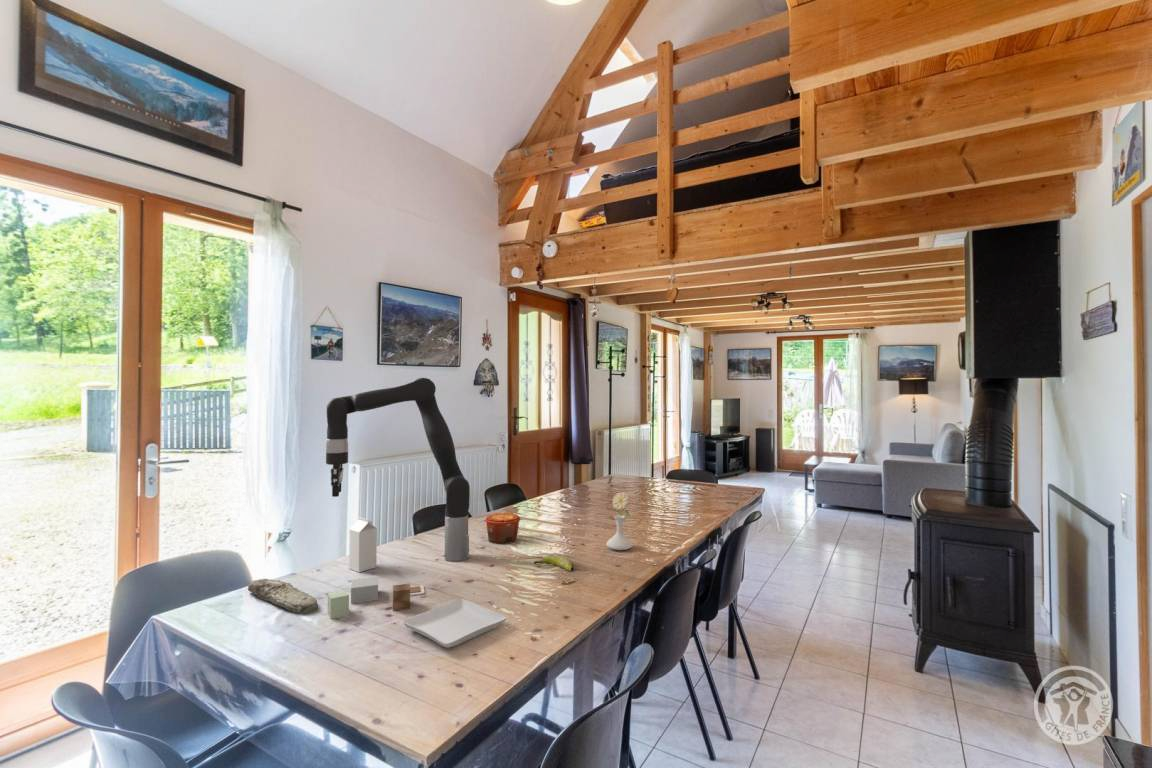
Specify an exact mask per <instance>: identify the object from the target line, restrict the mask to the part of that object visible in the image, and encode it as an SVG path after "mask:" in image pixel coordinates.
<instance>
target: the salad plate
mask: <svg viewBox="0 0 1152 768" xmlns="http://www.w3.org/2000/svg"><path fill="white" fill-rule="evenodd" d="M506 620H507V617H506V615H504V614H501V613H499V612H496V611H494V610H492V609H489V608H487V607H485V606H482V605H479V604H477V603H475V602H472V601H470V600H467V599H464V598H461V599H457V600H454V601H451V602H449V603H446V604H443V605H440V606H438V607H437V606H436V607H434V608H432V609H430V610H427V611H424V612H421V613H419V614H417V615H413V616H411V617H408V618H405V620H403V621H402V622H403V625H404V626H406V627H407V628H408V629H410V630H412V631H414V632H416V633H418V634H420V635H422V636H423V637H426V638H428V639H430V640H431V641H433V642H435V643H437V644H438V645H440V646H441V647H444V648H452V647H456V646H458V645H460V644H463V643H464V642H467V641H469V640H471V639H474V638H475V637H478V636H480V635H482V634H484V633H487V632H488V631H490V630H493V629H495V628H497V627H499V626H500V625H502V624H503V623H505V621H506Z"/></svg>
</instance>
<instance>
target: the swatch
mask: <svg viewBox="0 0 1152 768" xmlns="http://www.w3.org/2000/svg"><path fill="white" fill-rule="evenodd" d="M418 595H425V587H424V584H420V585H413V586H410V597H411V596H413V597H414V596H418Z"/></svg>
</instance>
